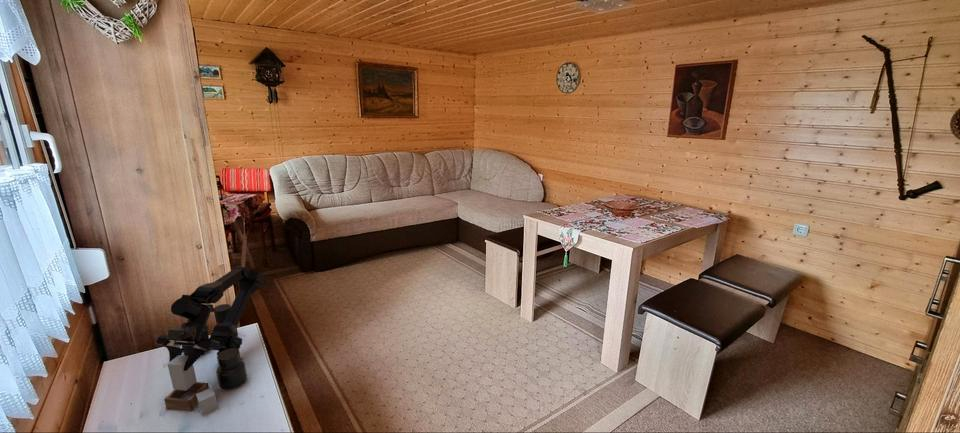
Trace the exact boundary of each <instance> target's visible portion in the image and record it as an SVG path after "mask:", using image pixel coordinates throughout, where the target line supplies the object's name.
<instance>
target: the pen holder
mask: <svg viewBox="0 0 960 433" xmlns="http://www.w3.org/2000/svg"><path fill="white" fill-rule="evenodd" d="M205 327H208V325H207V324H206V326H205ZM209 338H210V334H209V329H208V328H207V330H204V331H203V334H202V336H201V339H209ZM185 342H186V341H185ZM189 347H191V348H194V346H185V345H181V348H182V349H184V350H183V352H182V353H183V356H189ZM207 351H208V352H209V348H207ZM206 353H207V352H205V353H204V354H203V355H205V354H206Z"/></svg>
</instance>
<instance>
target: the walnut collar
mask: <svg viewBox="0 0 960 433" xmlns="http://www.w3.org/2000/svg"><path fill="white" fill-rule="evenodd" d="M209 388H210V386H209V383H208V382H200V381H196V382H195V383H194V384H193V385H192V386H191V387H190V388H189V389H188V390H187V391H185V390H174V389H173V390H172V392H170V393H169V394H168V395H167V396H166V397H164V398H163V401H164V404H165V409H166V410H174V411H175V410H176V411H185V412H192V411H193V410H194V409H195V408H196V407H198V402H197V397H196V394H197V393H200V392H202V391H204V390H207V389H209ZM187 393H192V395H191V396H190V397H189V398H183V397H184V396H185V395H186V394H187Z"/></svg>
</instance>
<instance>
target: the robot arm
mask: <svg viewBox="0 0 960 433" xmlns="http://www.w3.org/2000/svg"><path fill="white" fill-rule="evenodd" d="M264 281H265V275H264V274H263V272H261V271H256V270H255V269H251V268H249V267H247V266H239V265H238V266H235V267H233V269H232V270H230V271H228V272H227V273H225V274H224V275H223V276H221V277H219V278H218V279H217V280H215V281H213V282H207V283H204V284H202V285H200V286H197V288H196V289H195V290H194V291H193V292H191V293H190V294H182V295H181V297H180V298H178V299H176V300H175V301H174V302H173V303H172V304H171V307H170V312H171V313H172V314H173V315H175V316H178V317H181V318H184V319H186V322H183V323H182V324H181V326H180V327H173V328H168V330H167V335H163V334H162V335H160V336H158V337H157V339H156V340H155V344H156V345H160V346H164V348H166V349H167V351H168V355H169V357H168V360H169V362H170V361H172V360H173V359H174V358H176V357H177V356H178V355H182V354H183V353H184V352H183V350H184V349H182V346H181V345H185V346H194V348H191V347H189V356H188V358H187V361H186V363H185V366H184V371H187V370H188V369H189V368H190V367H191V366H192V365H193V366H194V363H195V362H197V361H198V360H199V359H200V358H201V357H202V356H203V355H205V354H206V353H208V352H209V350H210V351H218V352H216V356H217V355H218V354H219V353H220V352H222V351H224V350H226V349H230V348H236V349H238V350H239V351H240V348H241V346H242V345H243V338H241V337H239V336H238V335H239V332H238V325H239V323H240V321H241V319H242V317H243V314H244V313H245V310H246V308H247V306H248V304H249V302H250V299H251V297H252V296H253V294H254V293H255V292H257V291H258V290H259V289H260V288H261V286H262V284H264ZM237 283H238V288H239V290H238V292H237V294H236V296H235V298H234V300H233V302H232V304H231V305H230V306H231V308H230V310H229V312H228V314H227V316H226V318H225V320H224V322H223V323H222V324H221V325H215V326H213V329H212V332H211V333H210V334H209V339H201V336H202V334H203V331H204V330H207V328H208V326H207V327H205V326H206V325H207V323H208V320H209V318H210V315H211V313H214V312H215V309H214V308H215V306H214V304H216V303H218V302H219V301H220V300H221V299H222V298H223V297H224V293H225V292H226V291H227V290H228V289H230V288H231V287H232V286H234V285H235V284H237ZM185 341H186V342H185ZM207 348H209V350H208V351H207ZM205 352H206V353H205ZM204 353H205V354H204ZM240 359H241V360H242V357H241V356H240ZM242 361H243V360H242ZM169 362H168V363H169Z"/></svg>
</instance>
